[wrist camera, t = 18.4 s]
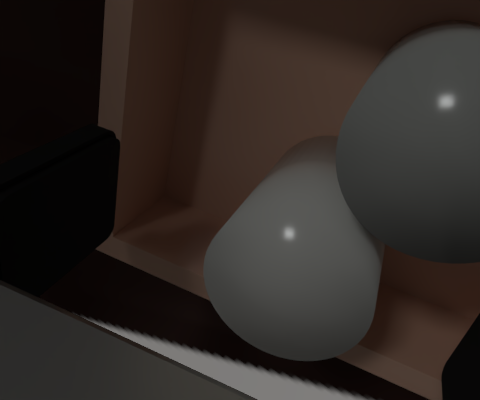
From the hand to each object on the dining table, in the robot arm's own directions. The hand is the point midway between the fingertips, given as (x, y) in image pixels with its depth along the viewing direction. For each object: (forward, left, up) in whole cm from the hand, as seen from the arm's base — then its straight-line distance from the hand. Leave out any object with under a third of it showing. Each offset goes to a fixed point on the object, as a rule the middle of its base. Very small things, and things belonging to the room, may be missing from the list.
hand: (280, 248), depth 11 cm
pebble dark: (-4, +2, -5) cm, 6 cm away
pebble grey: (0, 0, -5) cm, 5 cm away
